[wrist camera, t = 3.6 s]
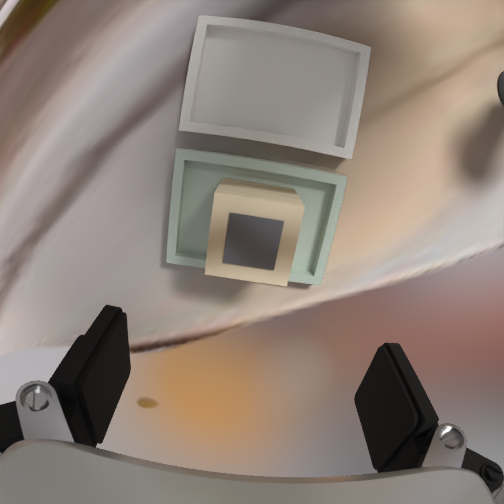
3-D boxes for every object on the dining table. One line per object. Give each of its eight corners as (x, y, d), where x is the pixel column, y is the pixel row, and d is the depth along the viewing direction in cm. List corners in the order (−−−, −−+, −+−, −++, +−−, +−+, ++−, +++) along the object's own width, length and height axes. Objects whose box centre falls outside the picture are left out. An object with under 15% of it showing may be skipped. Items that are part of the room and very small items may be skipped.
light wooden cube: (223, 177, 26) (214, 192, 20) (294, 188, 26) (305, 207, 21) (213, 245, 28) (204, 277, 23) (280, 255, 29) (286, 289, 23)
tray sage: (180, 147, 26) (176, 148, 24) (343, 174, 26) (347, 177, 25) (170, 255, 29) (166, 262, 28) (317, 277, 30) (320, 285, 29)
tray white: (201, 20, 21) (199, 15, 20) (365, 50, 22) (371, 47, 21) (182, 130, 25) (178, 130, 24) (346, 157, 26) (351, 159, 24)
